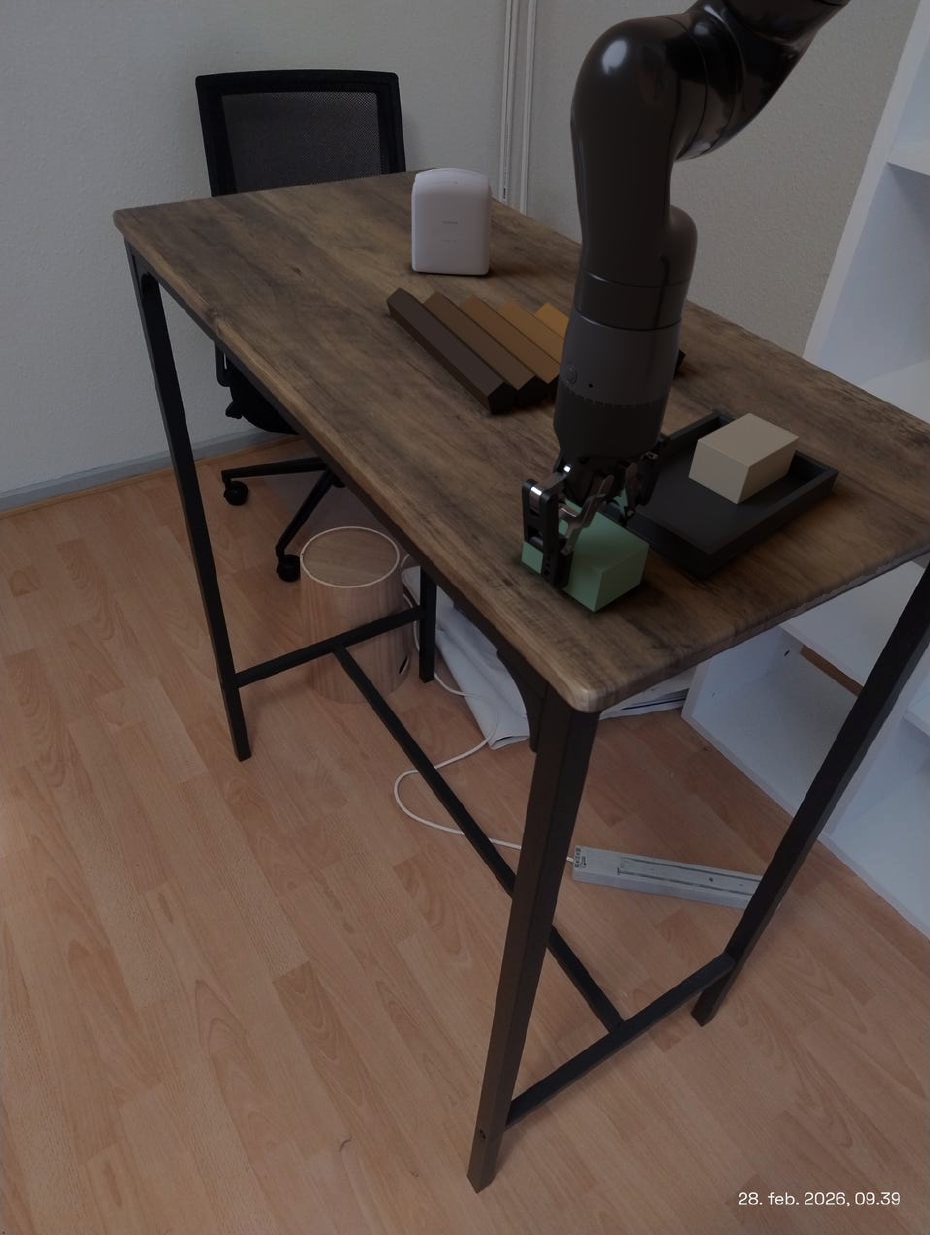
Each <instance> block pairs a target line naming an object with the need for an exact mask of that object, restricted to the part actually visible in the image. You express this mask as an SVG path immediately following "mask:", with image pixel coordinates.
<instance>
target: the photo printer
mask: <svg viewBox="0 0 930 1235" xmlns="http://www.w3.org/2000/svg"><path fill="white" fill-rule="evenodd" d="M411 190H412V191H411V268H412V270H413V271H414V272H418V273H433V274H450V275H451V274H452V275H470V276H471V275H472V276H473V275H474V276H480V275H481V276H484V275H487V273H488V272H489V270H490V255H491V254H490V252H491V231H492V215H493V213H492V212H493V190H492V186H491V185H490V177H488V176H486V175H485V174H482V173H479V172H476V171H472V170H468V169H463V168H455V167H440V168H433V169H429V170H428V169H427V170H424V171H421V172H418V173H416V174H415V177H414V182H413V184H412V189H411Z"/></svg>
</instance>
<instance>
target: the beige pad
mask: <svg viewBox="0 0 930 1235" xmlns="http://www.w3.org/2000/svg"><path fill="white" fill-rule="evenodd" d="M800 439H801V437H800V436H799V435H796V434H794V433H792V432H790V431H788V430H786V429H784V428H782V427H780V426H777V425H775V424H773V423H771V422H769V421H767V420H766V419H764V418H761V417H759V416H757V415H755V414H753V413H752V412H748V413H747V414H745V415H743V416H741V417H739V418H737V419H735V421H733V422H731V423H730V424H728V425H726V426H724V427H722V428H720V429H718V430H716V431H714V432H712V433H711V434H709V435H707V436H705V437H703V438H701V439H699V440H698V443H697V447H696V451H695V454H694V458H693V462H692V466H691V470H690V473H689V478H691V479H693V480H694V481H696V482H698V483H700V484H702V485H703V486H705V487H707V488H709V489H711V490H712V491H714V492H716V493H718V494H720V495H721V496H723V497H725V498H727V499H729V500H730V501H732V502H734V503H736V504H739V503H741V502H742V501H744V500H746V499H747V498H749V497H750V496H752V495H754V494H755V493H757V492H759V491H760V490H762V489H764V488H765V487H767V486H768V485H770V484H772V483H773V482H775V481H777V480H778V479H780V478H782V477H783V476H785V475H786V474H787V473H788V470H789V467H790V464H791V461H792V459H793V456H794V453H795V450H797V448H798V444H799V441H800Z"/></svg>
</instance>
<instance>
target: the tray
mask: <svg viewBox="0 0 930 1235" xmlns="http://www.w3.org/2000/svg"><path fill="white" fill-rule="evenodd" d="M735 420H736V419H735V418H733V417H731V416H728V415H727V414H724V413H722V412H720V411H719V410H716V411H714V412H711V413H710V414H707V415H706V416H703V417H702V418H700V419H697V420H695V421H694V422H692V423H689V424H688V425H686V426H683V427H682V428H680V429H678V430H676V431H674V432H672V433H670V434H668V435H667V436H669V437H670V438H671V442H670V445H669V448H668V451H667V454H666V457H665V460H664V462H663V465H662V468H661V471H660V474H659V477H658V480H657V483H656V485H655V488H654V491H653V494H652V497H651V499H650V501H649V503H648V504H647V505H645V506H642V505H640V504H639V505H637V506H636V507H635V508H636V511H635V514H634V516H633V517H632V518H631V519H630V520H629V521H627V526H626V530H627V531H629V532H631V533H632V534H634V535H635V536H637V537H639V538H640V539H642V540H643V541H645V542H647V543H648V544H649V547H650V548H652V549H654V550H656V551H658V552H659V553H660V554H662V555H663V556H665V557H667V558H668V559H670V560H672V561H673V562H675V563H676V564H678V565H680V566H681V567H682V568H684V569H686V570H687V571H689V572H691V573H692V574H694V575H695V576H697V577H699V578H701V579H705V578H706V577H707V576H709V575H710V574H712V573H714V572H715V571H716V570H718V569H719V568H721V567H722V566H724V565H726V564H727V563H728V562H730V561H732V560H733V559H735V558H736V557H738V556H739V555H740V554H742V553H744V552H745V551H746V550H748V549H750V548H751V547H752V546H754V545H756V544H758V542H760V541H761V540H763V539H765V538H766V537H767V536H769V535H771V534H772V533H774V532H775V531H777V530H779V529H780V528H781V527H783V526H785V525H786V524H787V523H789V522H790V521H792V520H794V519H795V518H797V517H798V516H799V515H801V514H802V513H803V512H805V511H807V510H808V509H810V508H812V507H813V506H814V505H816V504H817V503H819V502H820V501H822V500H823V499H825V498H826V497H828V496H830V495H831V493H832V491H833V488H834V486H835V483H836V482H837V481H836V480H837V478H838V476H839V473H840V471H839V470H838V469H837V468H834V467H832V466H831V465H828V464H826V463H824V462H822V461H820V460H818V459H817V458H815V457H812V456H810V455H807V454H805V453H803V452H802V451H799V450H797V449H796V450H795V453H794V456H793V459H792V461H791V464H790V467H789V470H788V473H787V474H786V475H785V476H783V477H782V478H780V479H778V480H777V481H775V482H773V483H772V484H770V485H768V486H767V487H765V488H764V489H762V490H760V491H759V492H757V493H755V494H754V495H752V496H750V497H749V498H747V499H746V500H744V501H742V502H741V503H739V504H736V503H734V502H732V501H730V500H729V499H727V498H725V497H723V496H721V495H720V494H718V493H716V492H714V491H712V490H711V489H709V488H707V487H705V486H703V485H702V484H700V483H698V482H696V481H694V480H693V479H691V478H689V473H690V470H691V466H692V462H693V458H694V454H695V451H696V447H697V443H698V440H699V439H701V438H703V437H705V436H707V435H709V434H711V433H712V432H714V431H716V430H718V429H720V428H722V427H724V426H726V425H728V424H730V423H731V422H733V421H735ZM643 481H644V477H643V475H641V474H639V473H637V474H636V482H637V485H638V486H640V487H642V484H643ZM604 509H606V508H605V507H604V506H603V505H602V503H601V504H600V505H599V507H598V509H597V512H598V513H600V512H601V511H602V510H604Z"/></svg>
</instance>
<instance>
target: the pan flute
mask: <svg viewBox="0 0 930 1235" xmlns="http://www.w3.org/2000/svg"><path fill="white" fill-rule="evenodd" d="M385 302H386V305H387V307H388V311H389V313H390V317H391V318H393V320H394V321H396V322H397V324H398V325H400V327H401V328H403V329H404V331H405V332H407V333H408V334H409V335H410V336H411V338H413V339H414V340H415V341H416V342H417V343H418V344H419V345H420V346H421V347H422V348H423V349H424V351H426V352H427V353H428V354H429V355H430V356H431V357H433V358H434V360H435V361H437V363H438V364H439V365H441V367H443V368H444V370H445V371H446V372H448V373H449V375H450V376H452V377H453V378H454V379H455V380H456V381H457V382H458V383H459V384H460V385H461V386H462V387H463V388H464V389H465V390H466V391H467V392H468V393H469V394H470V395H471V396H472V397H473V398H474V399H475V400H476V401H477V402H478V403H479V404H480V405H481V406H482V407H484V409H485V410H486V411H488V412H489V414H491V415H495V414H499V413H504V412H509V411H511V409H512V407H513V404H514V402H515V403H516V404H517V405H519V407H521V408H526V407H530V406H535V405H540V404H541V403H542V400H543V398H544V396H545V397H546V398H547V399H548V400H550V401H551V402H554V401H556V396H557V388H558V381H559V373H560V365H561V358H562V350H563V343H564V336H565V331H566V327H567V324H568V320H569V317H568V316H567V315H565V314H564V313H563V312H562V311H561V310H559V309H557V308H556V307H555V306H554V305H552V304H551V303H549V302H546V303H544V304H543V305H542V306H541V307H540V308H539V309H538V310H537V311H535V313H534V314H532V313H531V312H530V311H528V310H527V309H526V308H524V307H523V306H522V305H520V304H519V303H517V302H516V301H515V300H513V298H508V299H507V301H505V303H503V304H502V305H501V306H500V307H499V308H497V309H496V310H495V309H494V308H492V307H491V306H490V305H489V304H488V303H487V302H485V301H483V300H482V299H480V298H479V297H478V296H476V295H475V294H472V295H471V296H470V297H468V299H467V300H465V301H464V302H463V303H462V304H461V305H460V306H458V305H457V304H456V303H454V301H452V300H451V299H450V298H448V297H446V296H445V295H443V294H442V293H441V292H439V291H438V290H435V291H434V292H433V293H432V294H431V295H430V296H429V297H428V298H427V299H425V301H424V302H423V303H422V302H421V301H420V300H419V299H418V298H417V297H416V296H414V295H413V294H411V293H410V292H409V291H407V290H405V289H404V288H402V287H401V286H399V287H398V288H396V289H395V291H393V293H391V294H390V296H389V297H387V298H386V299H385ZM686 356H687V355H686V353H685V352H684V351H682V350H681V349H680V348H679V353H678V358H677V362H676V366H675V371H674V375H675V374H678V373H679V372H678V371H679V370H680V368H681V366H682V363H683V361H684V360H685V357H686Z"/></svg>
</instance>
